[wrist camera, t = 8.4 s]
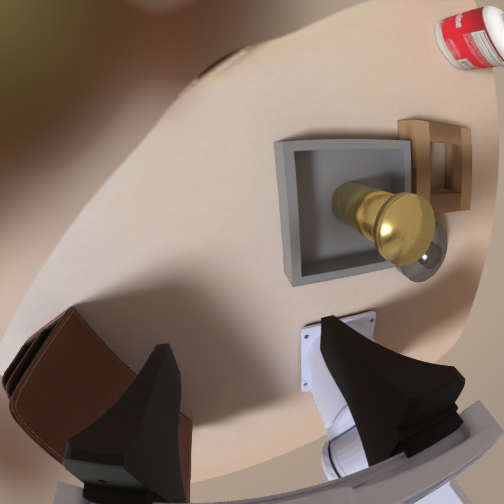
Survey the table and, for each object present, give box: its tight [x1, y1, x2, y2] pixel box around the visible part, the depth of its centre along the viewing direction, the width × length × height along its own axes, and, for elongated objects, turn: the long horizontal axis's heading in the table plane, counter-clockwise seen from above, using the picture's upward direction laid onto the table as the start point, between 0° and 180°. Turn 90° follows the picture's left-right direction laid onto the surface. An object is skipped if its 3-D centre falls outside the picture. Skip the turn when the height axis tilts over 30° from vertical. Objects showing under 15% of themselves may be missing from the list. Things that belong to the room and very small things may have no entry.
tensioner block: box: [397, 120, 472, 214], centre depth 20 cm, size 8×8×2 cm
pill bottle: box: [435, 6, 504, 70], centre depth 12 cm, size 6×6×11 cm
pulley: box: [396, 223, 447, 282], centre depth 23 cm, size 6×6×3 cm
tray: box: [274, 139, 411, 287], centre depth 20 cm, size 10×10×3 cm
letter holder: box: [2, 307, 192, 503], centre depth 19 cm, size 10×20×14 cm, turn 29°
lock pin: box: [331, 182, 435, 266], centre depth 17 cm, size 4×4×8 cm
